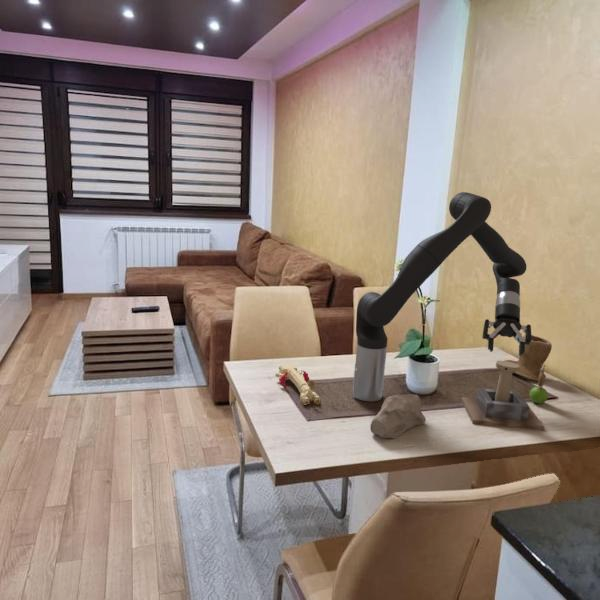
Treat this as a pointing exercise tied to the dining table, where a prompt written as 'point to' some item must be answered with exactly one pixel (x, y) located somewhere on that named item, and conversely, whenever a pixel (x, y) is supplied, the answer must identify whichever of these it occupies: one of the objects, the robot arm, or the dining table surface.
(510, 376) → the handle
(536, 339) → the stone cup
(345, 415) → the dining table surface
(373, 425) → the decorative stone
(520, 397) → the socket block
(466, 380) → the dining table surface
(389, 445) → the dining table surface
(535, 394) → the green ball on stick
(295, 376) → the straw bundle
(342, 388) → the dining table surface
